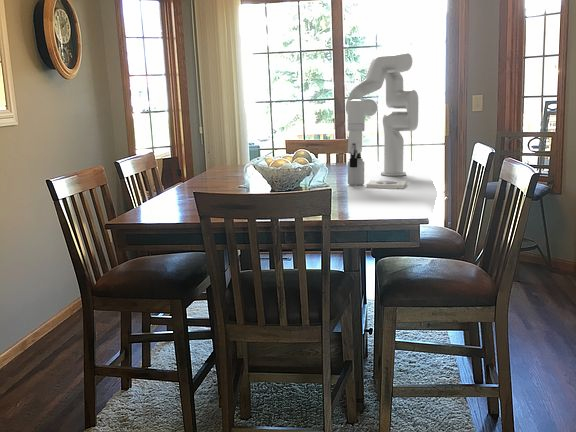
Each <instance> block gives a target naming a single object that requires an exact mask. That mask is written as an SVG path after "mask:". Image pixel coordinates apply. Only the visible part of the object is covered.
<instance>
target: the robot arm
mask: <svg viewBox="0 0 576 432" xmlns="http://www.w3.org/2000/svg"><path fill="white" fill-rule="evenodd" d="M412 66H413V58H412V55H411V54H410V53H409V52H394V53H393V52H388V53H382V54H378V55H376V56H374V57H373V58H372V60H371V63H370V65H369V68H368V71H367V73H366V76H365V78H364V80H362V81H361V82H359V83H358V84H357V85H356V86H354V88H353V89H352V90H351V91H350V93H349V95H348V96H347V100H346V104H345V111H346V114H347V132H348V141H347V153H348V154H350V155H349V159H350V167H357V158H360V159H362V150H363V132H365V122H366V121H365V120H366V119H365V118H366V117H372V116H374V115H375V114H376V113H377V111H378V104H377V102H376V101H375V100H374V99H368V98H367V99H363V98H364V97H365V96H367V95H370V94H373V93H375V92H376V91H378V90H380V89H381V88H382V87H383V85H384V82H385V104H386V107H387V108H388V109H393V110H394V109H396V110H403V109H406V111H389V112H386V113H385V114H383V117H382V126H383V127H382V128H383V133H384V135H383V136H384V138H383V139H384V141H383V142H384V147H383V149H384V150H383V151H384V152H383V153H384V154H383V157H384V158H383V167H384V168H383V171H381V172H380V175H381V176H387V177H400V176H406V175H407V172H406V171H404V143H405V142H404V141H405V140H404V137H403V135H402V133H401V132H413V131H416V130H417V128H418V123H419V94H418V92H417V91H416V90H415V89H413V88H404V77H403V75H402V74H401V73H403V72H408V71H409V70H410V69H412Z"/></svg>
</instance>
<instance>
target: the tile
mask: <svg viewBox="0 0 576 432" xmlns="http://www.w3.org/2000/svg"><path fill="white" fill-rule="evenodd" d="M406 186H407V181H406V180H370V181H369V182H368V183H366V185H365V187H366V188H367V189H369V188H370V189H397V188H403V189H404V188H405V187H406Z"/></svg>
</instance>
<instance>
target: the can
mask: <svg viewBox="0 0 576 432" xmlns="http://www.w3.org/2000/svg"><path fill="white" fill-rule="evenodd" d="M347 184H348V185H349V186H351V187H361V186H363V185H364V184H365V161H364V160H363V158H361V159H360V158H357V167H350V158H349V159H348V162H347Z"/></svg>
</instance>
